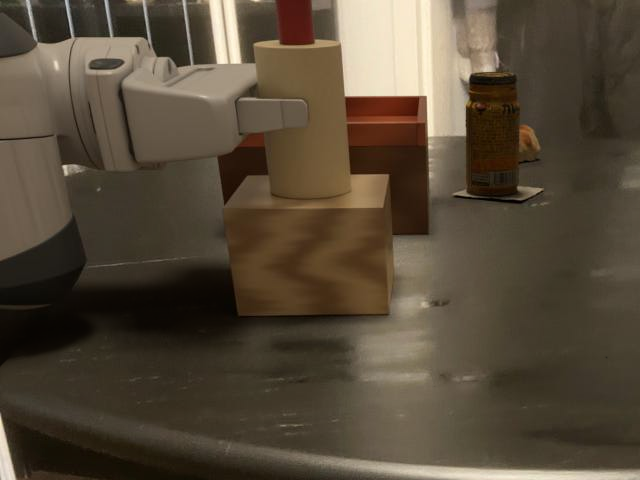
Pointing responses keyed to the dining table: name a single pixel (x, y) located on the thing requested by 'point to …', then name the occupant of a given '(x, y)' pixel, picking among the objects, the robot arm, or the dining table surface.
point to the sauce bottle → (324, 107)
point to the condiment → (493, 138)
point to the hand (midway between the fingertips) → (314, 104)
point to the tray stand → (365, 155)
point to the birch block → (311, 250)
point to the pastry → (527, 144)
